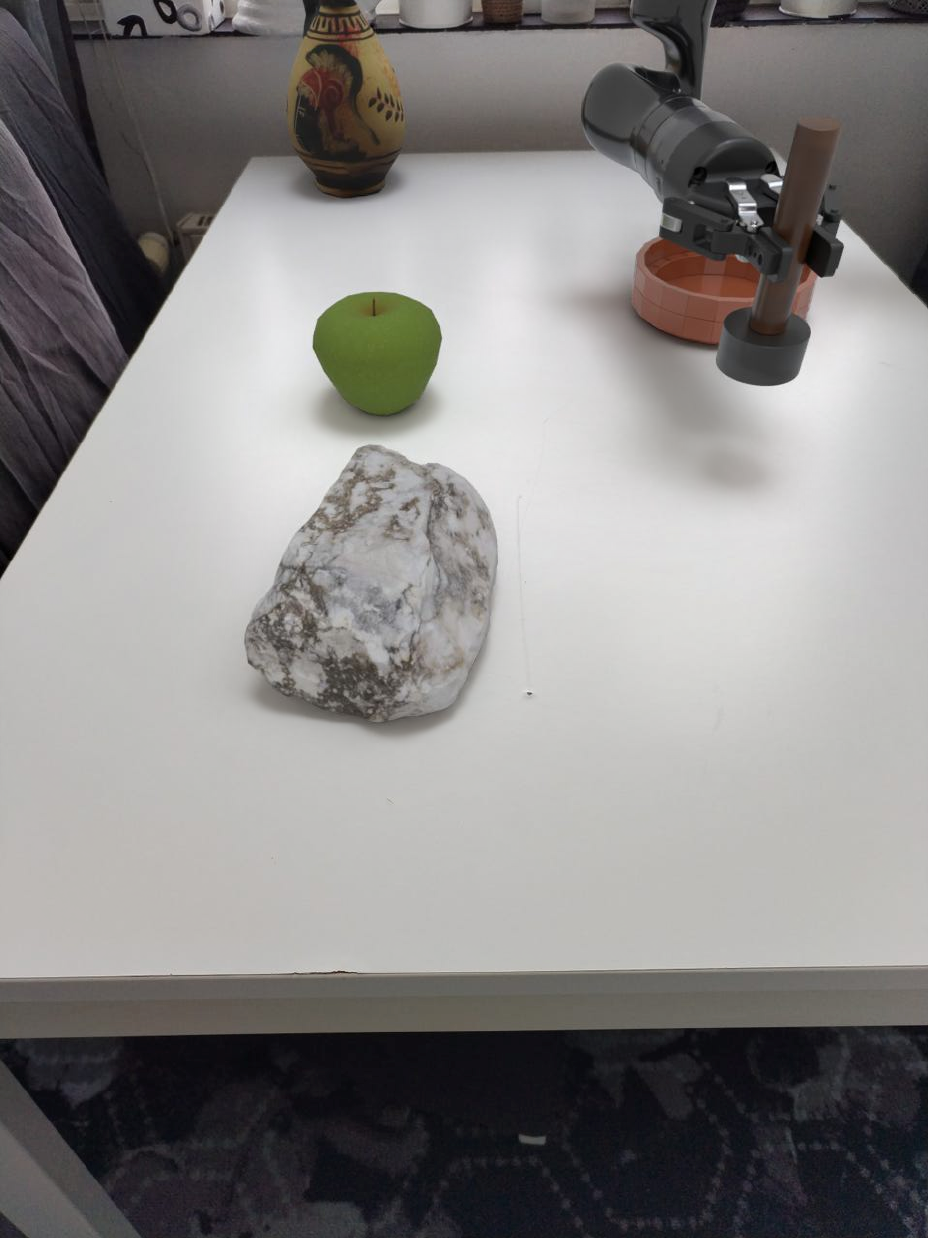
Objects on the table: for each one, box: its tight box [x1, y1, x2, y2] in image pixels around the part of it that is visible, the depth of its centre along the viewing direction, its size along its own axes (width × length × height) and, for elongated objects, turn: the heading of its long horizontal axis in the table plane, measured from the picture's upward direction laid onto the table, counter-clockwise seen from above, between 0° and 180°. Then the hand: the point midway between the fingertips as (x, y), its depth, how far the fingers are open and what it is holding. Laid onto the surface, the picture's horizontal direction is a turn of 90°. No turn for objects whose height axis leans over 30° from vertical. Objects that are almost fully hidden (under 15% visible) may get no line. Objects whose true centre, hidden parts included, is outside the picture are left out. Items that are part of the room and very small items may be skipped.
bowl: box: [631, 235, 819, 346], centre depth 87 cm, size 18×18×5 cm
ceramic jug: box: [285, 0, 406, 199], centre depth 107 cm, size 17×15×30 cm
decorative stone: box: [243, 443, 499, 723], centre depth 55 cm, size 20×14×10 cm
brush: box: [715, 115, 843, 387], centre depth 57 cm, size 6×6×16 cm
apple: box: [312, 291, 443, 417], centre depth 74 cm, size 11×10×10 cm
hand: (809, 264), depth 55 cm, fingers closed on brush, 2 cm apart
